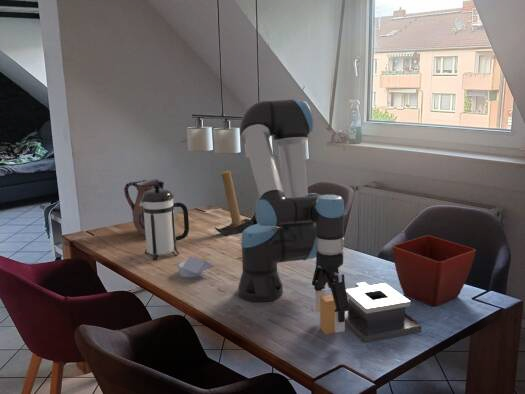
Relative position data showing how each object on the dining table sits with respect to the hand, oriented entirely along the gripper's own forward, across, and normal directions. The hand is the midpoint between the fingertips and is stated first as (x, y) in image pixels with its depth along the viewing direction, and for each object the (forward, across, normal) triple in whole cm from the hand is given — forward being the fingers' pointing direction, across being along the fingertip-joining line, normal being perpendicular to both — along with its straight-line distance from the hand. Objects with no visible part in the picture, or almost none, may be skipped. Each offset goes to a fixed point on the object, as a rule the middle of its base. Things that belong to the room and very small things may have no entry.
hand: (329, 320), depth 152 cm
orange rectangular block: (+3, 0, 0) cm, 3 cm away
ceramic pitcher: (+2, +115, +40) cm, 122 cm away
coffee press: (+3, +84, +37) cm, 92 cm away
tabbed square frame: (+3, 0, -15) cm, 15 cm away
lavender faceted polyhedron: (+3, +57, +29) cm, 64 cm away
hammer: (+3, +102, +1) cm, 102 cm away
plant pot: (+3, +10, -41) cm, 42 cm away
